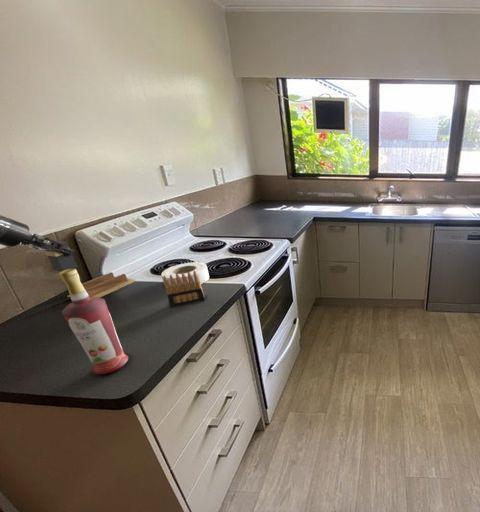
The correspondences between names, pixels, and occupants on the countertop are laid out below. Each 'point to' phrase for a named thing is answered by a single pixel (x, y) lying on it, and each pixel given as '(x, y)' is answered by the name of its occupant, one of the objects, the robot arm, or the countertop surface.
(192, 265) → the tape roll
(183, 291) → the ammunition clip
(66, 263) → the dark box with band
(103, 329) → the liquor
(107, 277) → the rack
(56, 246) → the robot arm
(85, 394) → the countertop surface
